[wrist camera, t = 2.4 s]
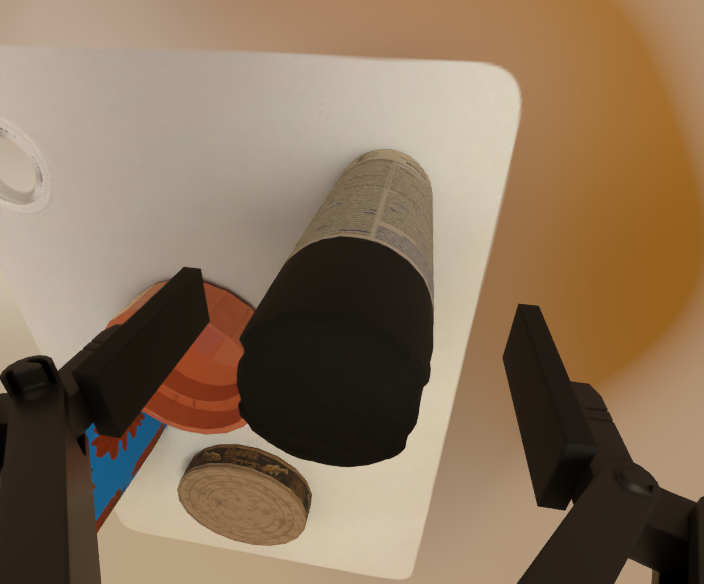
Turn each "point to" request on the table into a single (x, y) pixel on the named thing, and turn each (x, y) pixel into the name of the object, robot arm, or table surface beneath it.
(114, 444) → the thermos
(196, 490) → the brown round disc
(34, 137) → the table surface
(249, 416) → the spray can
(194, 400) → the dish
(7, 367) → the robot arm
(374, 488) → the table surface
